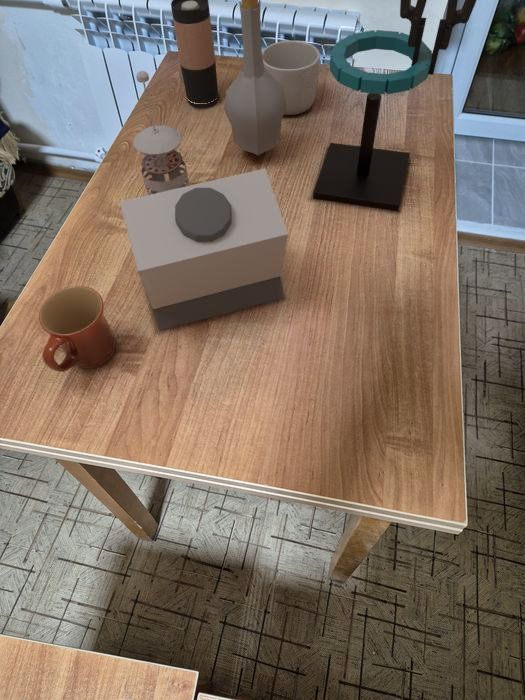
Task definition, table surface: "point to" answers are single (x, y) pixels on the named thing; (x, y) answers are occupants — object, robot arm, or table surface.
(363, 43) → the ring
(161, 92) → the table surface
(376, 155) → the post
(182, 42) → the travel mug
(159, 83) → the table surface
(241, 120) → the bottle
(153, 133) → the french press
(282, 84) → the planter
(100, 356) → the mug
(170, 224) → the alarm clock
